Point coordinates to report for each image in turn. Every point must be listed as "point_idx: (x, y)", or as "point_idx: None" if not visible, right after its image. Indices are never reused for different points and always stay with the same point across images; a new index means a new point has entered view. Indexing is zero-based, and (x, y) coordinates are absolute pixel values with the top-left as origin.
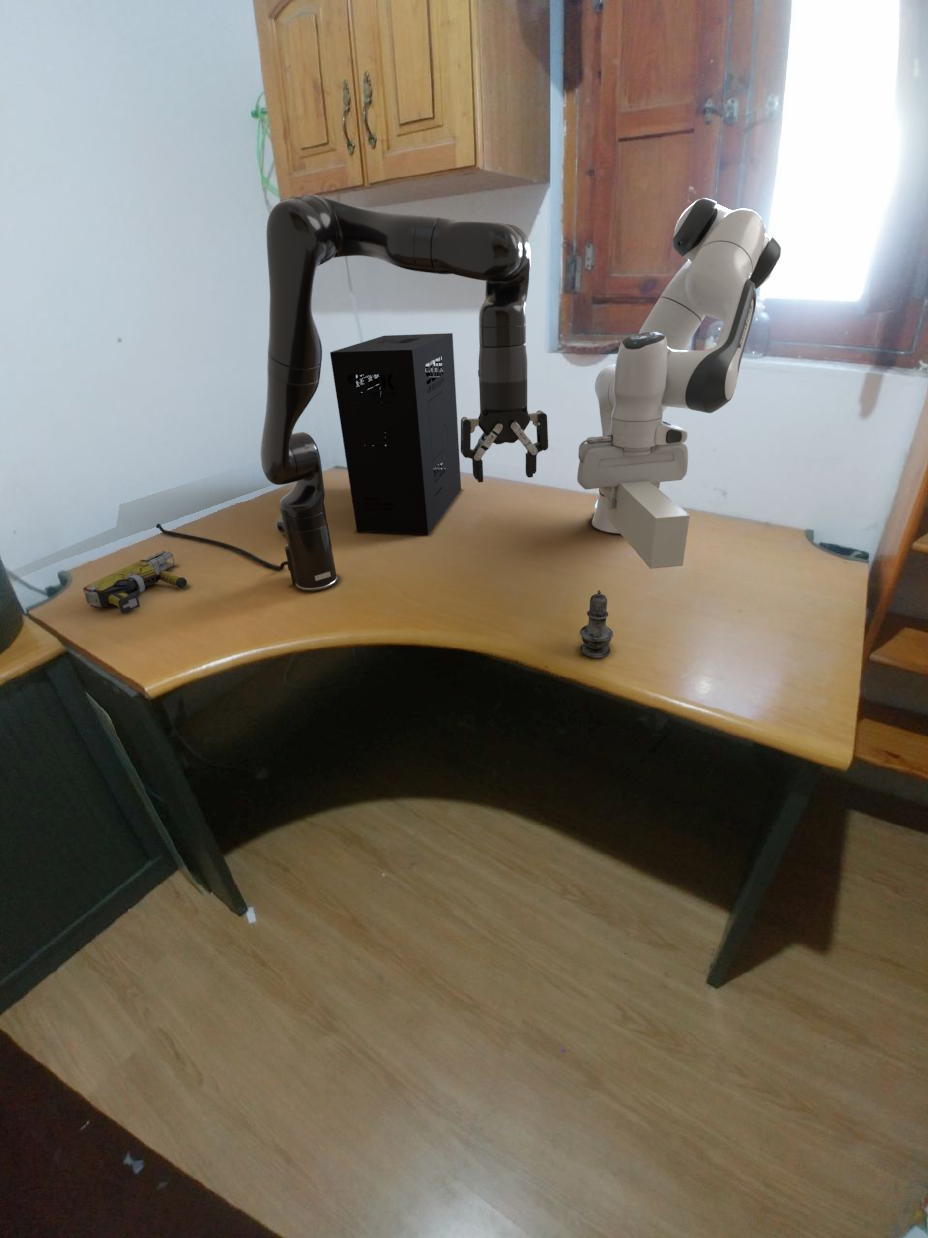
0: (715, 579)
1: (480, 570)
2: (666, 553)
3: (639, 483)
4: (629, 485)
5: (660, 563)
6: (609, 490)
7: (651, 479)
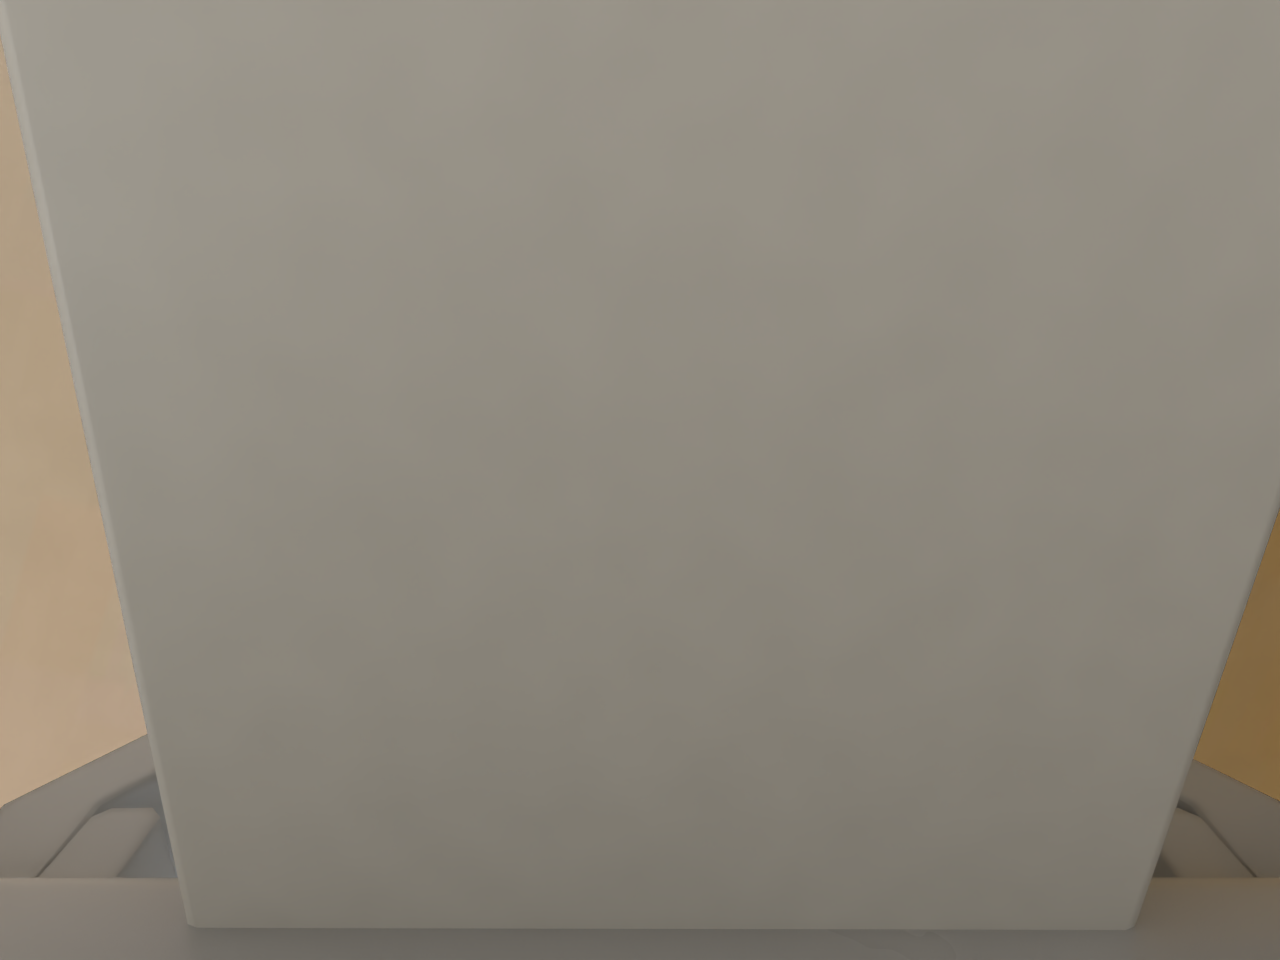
0: (39, 416)
1: (1257, 786)
2: None
3: (555, 776)
4: (970, 685)
5: None
6: (1213, 842)
7: (77, 952)
